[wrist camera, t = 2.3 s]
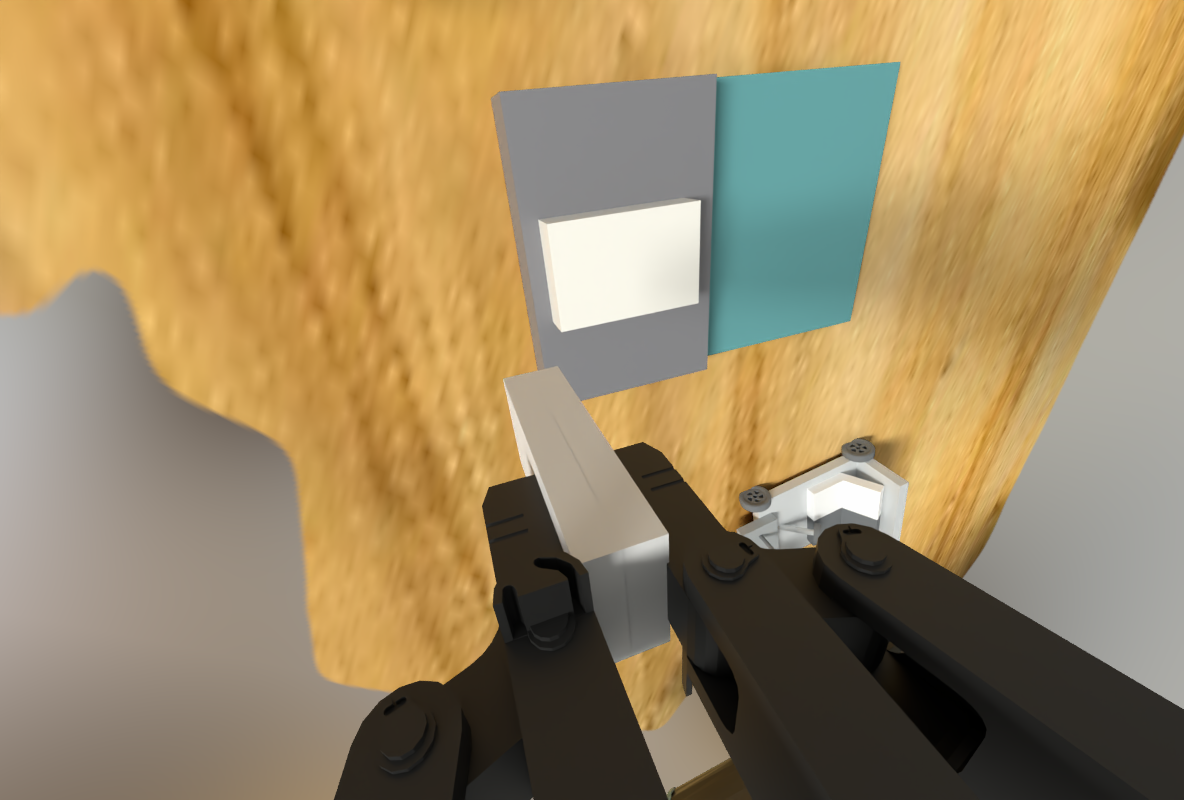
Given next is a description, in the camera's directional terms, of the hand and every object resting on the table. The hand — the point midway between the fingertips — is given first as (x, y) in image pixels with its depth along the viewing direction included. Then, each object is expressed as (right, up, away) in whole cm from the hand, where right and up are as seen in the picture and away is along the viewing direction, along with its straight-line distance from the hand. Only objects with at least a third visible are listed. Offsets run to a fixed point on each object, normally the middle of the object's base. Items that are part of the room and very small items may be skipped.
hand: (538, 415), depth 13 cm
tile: (+3, +9, +15) cm, 18 cm away
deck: (+3, +10, +18) cm, 21 cm away
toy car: (+23, -11, +38) cm, 46 cm away
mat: (+16, +14, +21) cm, 30 cm away
